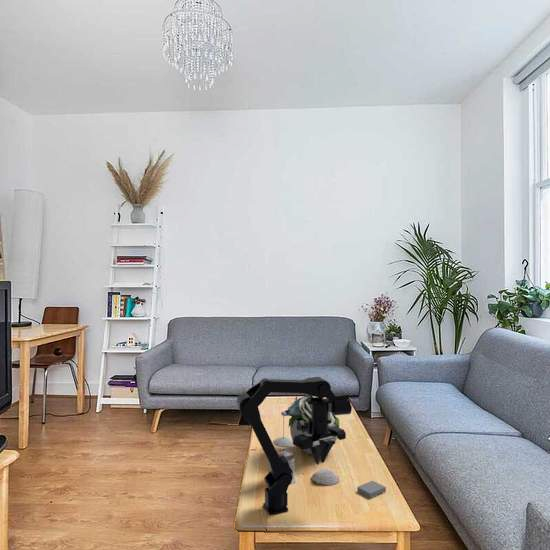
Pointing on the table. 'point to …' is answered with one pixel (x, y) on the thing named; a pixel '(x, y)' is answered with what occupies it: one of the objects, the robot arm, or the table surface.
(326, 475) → the seashell
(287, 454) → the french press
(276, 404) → the table surface
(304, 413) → the flower arrangement
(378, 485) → the glazed tile
